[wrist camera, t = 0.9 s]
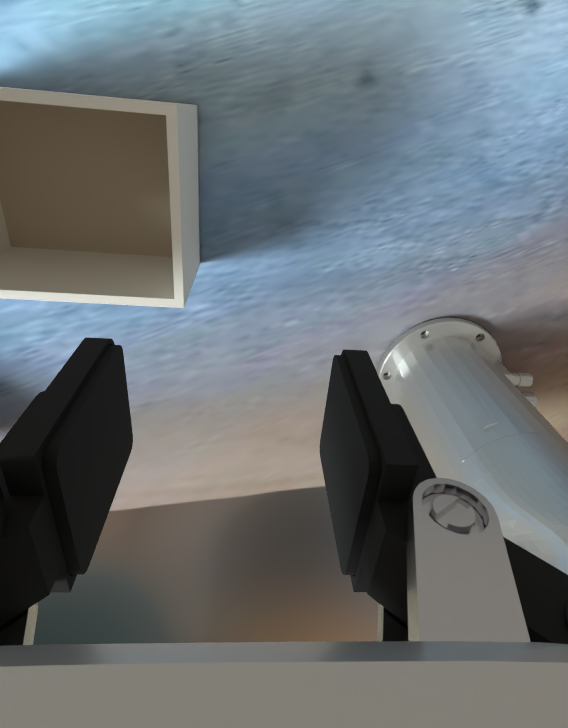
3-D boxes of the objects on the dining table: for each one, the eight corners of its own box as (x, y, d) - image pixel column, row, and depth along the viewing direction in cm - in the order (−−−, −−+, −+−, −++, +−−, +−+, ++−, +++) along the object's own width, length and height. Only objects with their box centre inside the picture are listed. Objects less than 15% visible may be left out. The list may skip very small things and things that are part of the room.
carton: (197, 104, 33) (176, 103, 24) (200, 263, 39) (183, 308, 30) (-31, 83, 31) (-141, 74, 23) (8, 251, 37) (-67, 294, 29)
